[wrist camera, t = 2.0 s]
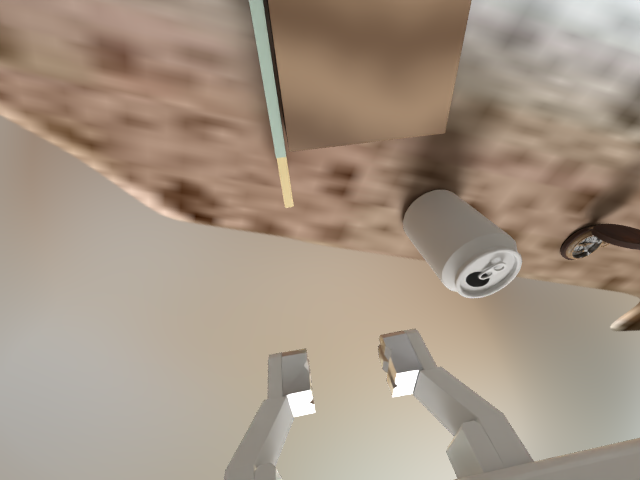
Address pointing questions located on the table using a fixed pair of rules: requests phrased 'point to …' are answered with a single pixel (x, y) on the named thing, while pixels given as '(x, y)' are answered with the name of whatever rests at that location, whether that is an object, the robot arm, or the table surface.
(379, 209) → the table surface
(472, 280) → the can
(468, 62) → the table surface
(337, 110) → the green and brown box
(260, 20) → the green yellow-tipped stick
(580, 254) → the compass
